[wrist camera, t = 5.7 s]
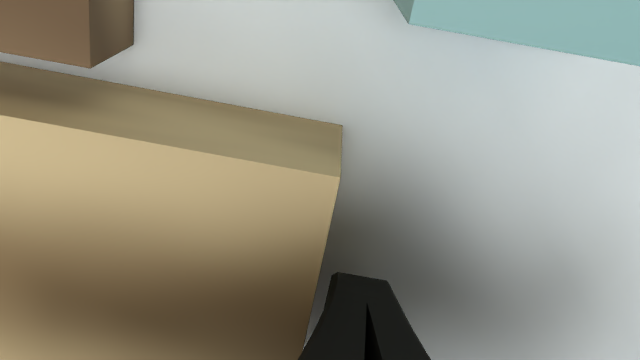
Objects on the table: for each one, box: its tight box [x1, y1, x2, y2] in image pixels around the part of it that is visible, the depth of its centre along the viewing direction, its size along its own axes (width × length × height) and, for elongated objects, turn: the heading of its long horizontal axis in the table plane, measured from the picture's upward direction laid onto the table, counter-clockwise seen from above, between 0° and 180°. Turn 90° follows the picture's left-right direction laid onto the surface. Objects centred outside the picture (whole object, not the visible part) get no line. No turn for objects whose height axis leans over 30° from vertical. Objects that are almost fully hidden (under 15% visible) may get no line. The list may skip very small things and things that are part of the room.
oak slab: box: [0, 62, 342, 360], centre depth 12 cm, size 8×8×3 cm
